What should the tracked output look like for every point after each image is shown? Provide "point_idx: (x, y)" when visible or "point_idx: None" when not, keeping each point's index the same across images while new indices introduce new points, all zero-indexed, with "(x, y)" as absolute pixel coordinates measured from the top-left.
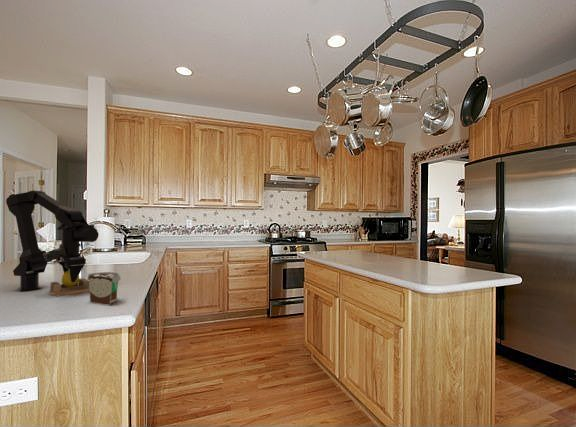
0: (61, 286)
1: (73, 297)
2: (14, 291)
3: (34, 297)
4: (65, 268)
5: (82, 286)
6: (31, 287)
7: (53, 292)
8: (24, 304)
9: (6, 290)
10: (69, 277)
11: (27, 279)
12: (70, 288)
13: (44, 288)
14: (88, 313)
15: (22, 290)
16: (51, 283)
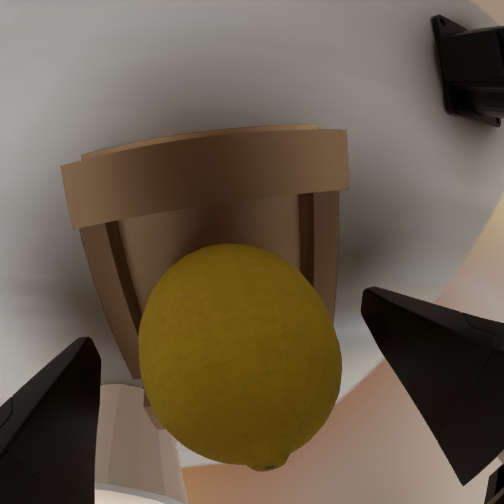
0: (307, 222)
1: (10, 276)
2: (451, 11)
3: (180, 17)
4: (456, 360)
5: (129, 370)
6: (449, 58)
7: (155, 143)
8: (11, 10)
9: (478, 11)
10: (142, 359)
11: (492, 31)
12: (100, 291)
13: (448, 133)
14: None
15: (436, 22)
16: (295, 130)
